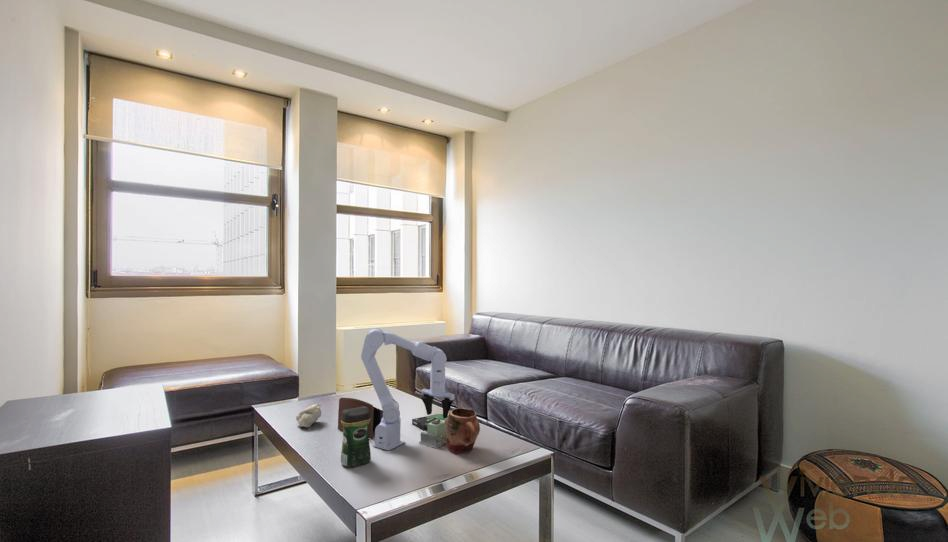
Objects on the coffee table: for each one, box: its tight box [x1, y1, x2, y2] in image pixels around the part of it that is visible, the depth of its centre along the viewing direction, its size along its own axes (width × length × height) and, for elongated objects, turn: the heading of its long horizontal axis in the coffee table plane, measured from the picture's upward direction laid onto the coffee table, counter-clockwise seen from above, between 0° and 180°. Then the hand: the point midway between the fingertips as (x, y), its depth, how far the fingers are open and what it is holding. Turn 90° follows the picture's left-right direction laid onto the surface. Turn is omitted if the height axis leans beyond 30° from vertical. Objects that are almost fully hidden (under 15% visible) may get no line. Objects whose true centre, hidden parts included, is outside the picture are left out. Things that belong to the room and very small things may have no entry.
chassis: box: [418, 431, 447, 449], centre depth 170 cm, size 12×8×4 cm, turn 149°
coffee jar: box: [340, 406, 372, 468], centre depth 150 cm, size 10×8×19 cm
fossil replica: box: [295, 403, 322, 429], centre depth 187 cm, size 12×8×10 cm
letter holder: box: [337, 397, 383, 440], centre depth 181 cm, size 10×20×14 cm, turn 58°
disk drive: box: [411, 413, 446, 432], centre depth 189 cm, size 10×3×15 cm
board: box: [426, 418, 447, 436], centre depth 171 cm, size 7×4×5 cm, turn 150°
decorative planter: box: [445, 407, 481, 454], centre depth 161 cm, size 20×12×14 cm, turn 30°
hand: (437, 415), depth 170 cm, fingers open, 7 cm apart
